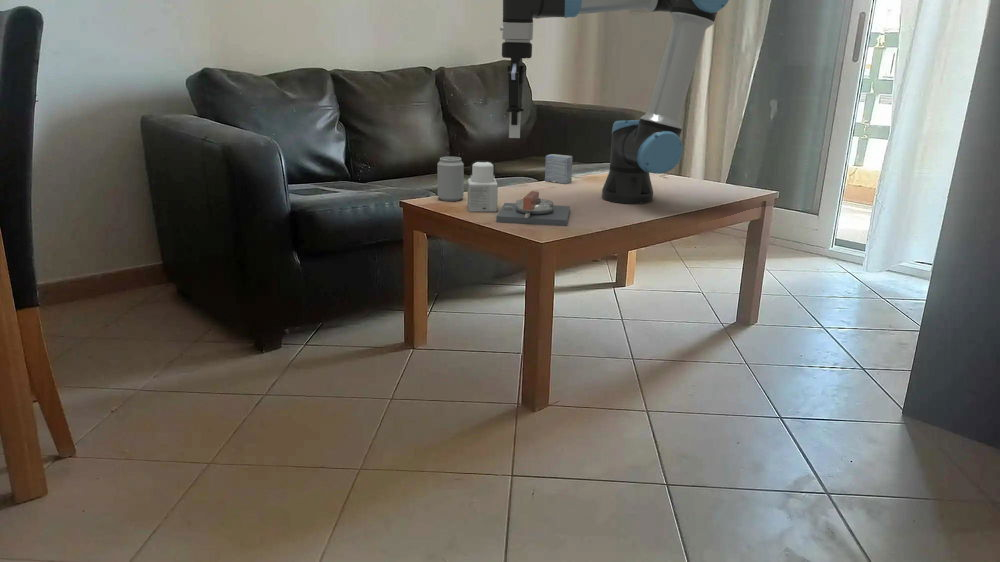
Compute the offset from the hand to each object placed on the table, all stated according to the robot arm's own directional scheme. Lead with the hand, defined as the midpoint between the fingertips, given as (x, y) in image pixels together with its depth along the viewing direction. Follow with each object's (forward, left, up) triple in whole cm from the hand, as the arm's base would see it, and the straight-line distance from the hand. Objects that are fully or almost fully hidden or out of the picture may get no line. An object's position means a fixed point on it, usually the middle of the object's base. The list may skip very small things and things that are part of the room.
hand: (514, 137), depth 186 cm
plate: (-6, +1, -20) cm, 21 cm away
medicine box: (-9, -49, -21) cm, 54 cm away
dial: (-6, +3, -19) cm, 20 cm away
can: (+20, -15, -21) cm, 32 cm away
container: (+9, -5, -21) cm, 23 cm away
